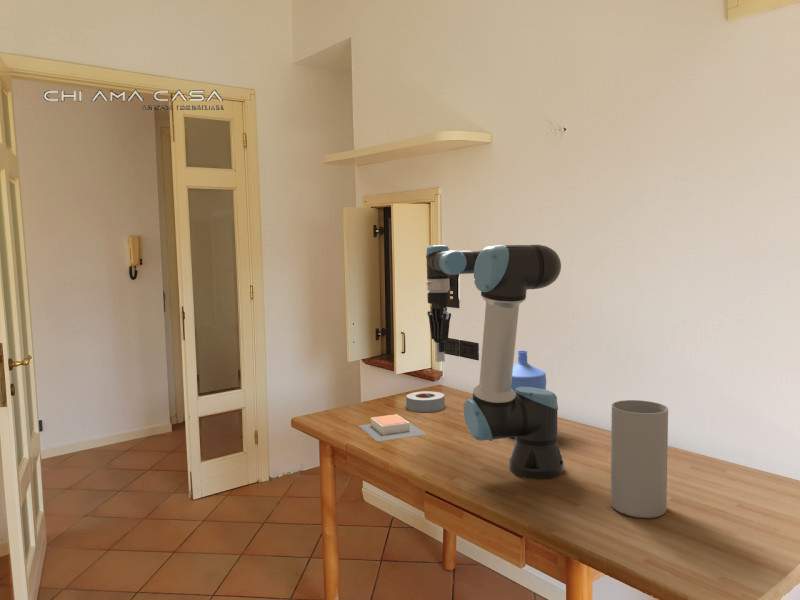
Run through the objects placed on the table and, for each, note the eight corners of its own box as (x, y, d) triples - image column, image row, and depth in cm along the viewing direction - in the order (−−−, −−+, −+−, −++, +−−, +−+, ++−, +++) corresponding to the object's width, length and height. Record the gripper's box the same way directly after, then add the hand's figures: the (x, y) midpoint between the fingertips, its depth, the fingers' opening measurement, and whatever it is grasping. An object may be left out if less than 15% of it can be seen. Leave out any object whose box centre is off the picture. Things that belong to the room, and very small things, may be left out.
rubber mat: (427, 435, 207) (427, 434, 207) (377, 442, 201) (377, 441, 201) (404, 420, 226) (404, 419, 226) (358, 426, 219) (358, 425, 219)
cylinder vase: (637, 523, 139) (639, 416, 137) (599, 503, 150) (600, 403, 148) (678, 513, 144) (680, 409, 142) (638, 494, 155) (639, 397, 153)
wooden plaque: (409, 422, 211) (396, 413, 222) (382, 425, 207) (370, 417, 218) (409, 431, 211) (396, 422, 222) (382, 435, 207) (370, 425, 218)
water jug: (544, 441, 199) (544, 356, 196) (496, 437, 204) (495, 354, 202) (548, 427, 214) (548, 348, 211) (503, 424, 219) (503, 347, 216)
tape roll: (398, 407, 245) (398, 395, 245) (426, 401, 255) (426, 389, 255) (424, 415, 234) (424, 402, 233) (452, 407, 243) (452, 395, 243)
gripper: (420, 291, 209) (421, 359, 210) (437, 292, 197) (439, 365, 199) (439, 290, 212) (440, 357, 213) (457, 291, 200) (459, 363, 202)
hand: (440, 361), depth 206 cm, fingers closed
